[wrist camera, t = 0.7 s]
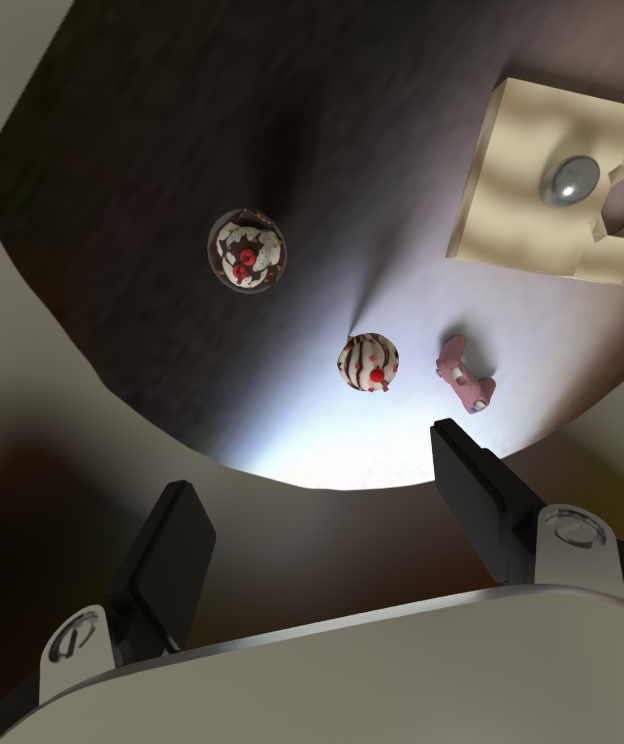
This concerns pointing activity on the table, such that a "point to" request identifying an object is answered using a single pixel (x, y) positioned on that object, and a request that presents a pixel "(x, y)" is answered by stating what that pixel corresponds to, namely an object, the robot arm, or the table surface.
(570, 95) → the hole board
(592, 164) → the steel ball
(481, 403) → the video game controller
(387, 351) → the ice cream cone
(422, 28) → the table surface
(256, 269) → the sundae
